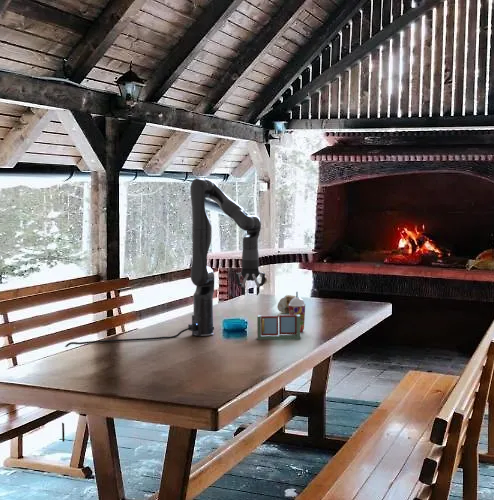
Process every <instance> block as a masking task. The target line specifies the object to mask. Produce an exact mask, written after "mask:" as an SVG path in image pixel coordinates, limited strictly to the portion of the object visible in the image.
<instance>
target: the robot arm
mask: <svg viewBox="0 0 494 500" xmlns="http://www.w3.org/2000/svg"><path fill="white" fill-rule="evenodd" d="M189 190H190V201H191V219H192V220H191V222H192V223H191V224H192V225H191V244H192V245H191V251H192V257H191V267H190V268H191V269H190V280H191V282H192V285H194V286H195V287H196V288H195V291H194V292H193V297H192V299H193V301H192V303H193V314H192V315H191V323H189V324H187V327H186V328H184V329H182V330H181V331H179V332H178V333H177V334H175V335H172V336H171V335H170V336H158V337H157V336H156V337H155V336H154V337H141V338H140V337H139V338H122V339H121V338H120V339H118V338H117V339H103V340H91V341H81V342H77V341H70V342H68V343H67V344H65V346H64V348H67V347H69V346H72V345H87V344H98V343H112V342H113V343H114V342H134V341H135V342H137V341H149V340H150V341H152V340H163V339H164V340H165V339H175V338H177V337H179V336H180V335H181V334H183V333H184V332H186V331H190V332H191V335H192V336H195V337H210V336H213V335H214V330H215V326H214V309H213V308H214V302H213V301H214V299H213V298H214V294H215V272H214V270H213V269H212V268H211V266H208V254H209V250H210V247H211V243H212V236H213V235H212V233H213V231H212V221H211V220H210V217H209V216H208V214H207V211H206V199H210V200H212V201H213V202H215V204H217V205H218V206H219V208H220V210H221V211H222V212H223V213H224V214H225V215H226V216H227V217H229V218H230V219H231V220H233V221H234V223H235V225H236V226H238V227H239V228H240V229H241V230H242V231H245V232H247V233H246V235H245V236H243V238H242V252H241V268H242V269H241V271H240V272H236V273H235V279H236V285H237V286H238V287H240V288H241V295H242V296H246V287H245V285H246V284H247V282H249V281H253V282H254V283H255V285H256V296H259V294H260V293H261V292H260V291H261V287H263V286H264V283H265V278H266V273H265V272H260V270H259V267H260V265H259V262H260V261H259V259H260V257H259V255H260V254H259V238H260V233H261V227H262V223H261V219H260V217H259V216H258V215H253V214H252V215H250V214H249V215H248V214H246V211H245V209H244V208H243V207H242V206H241V205H240V204H238V203H237V202H235V201H234V200H233V199H232V198H231V197H229V196H228V195H227V194H226V193H225V192H224V191H223V190H222V189H221V188H220V187H219V186H218V185H217V184H216V183H215V182H214V181H213V180H211V179H210V178H195V179H193V180H192V181H191V183H190V189H189ZM241 276H242V277H243V278H244V279H243V281H242V282H241V279H240V278H241ZM259 276H260V278H261V280H260V281H261V282H260V283H259V280H258V277H259ZM61 430H62V431H61V435H62V437H61V439H62V440H61V441H62V442H65V423H64V422H61Z"/></svg>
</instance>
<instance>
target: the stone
mask: <svg viewBox="0 0 494 500" xmlns="http://www.w3.org/2000/svg"><path fill="white" fill-rule="evenodd" d="M295 297H296V295H291V294H286V295H285V296H284V297H281V298H280V299H279V301H278V304H277V310H278V311H279V312H281V313H282V314H289V305H288V304H289V303H290V301H291V300H292V299H293V298H295Z"/></svg>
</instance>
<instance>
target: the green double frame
mask: <svg viewBox="0 0 494 500" xmlns="http://www.w3.org/2000/svg"><path fill="white" fill-rule="evenodd" d="M256 316H257V317H256V318H257V319H256V322H257V323H256V325H257V326H256V327H257V330H256V331H257V336H256V337H257V341H258V340H259V341H261V340H263V341H264V340H265V341H266V340H267V341H268V340H270V341H271V340H275V341H276V340H301V333H300V315H289V314H279V315H278V335H275V336H261V316H262V315H261V314H257V315H256Z"/></svg>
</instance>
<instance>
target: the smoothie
mask: <svg viewBox="0 0 494 500" xmlns="http://www.w3.org/2000/svg"><path fill="white" fill-rule="evenodd" d="M295 293H296V295H295V296H296V297H295V298H293V299H292V300H291V301H290V303H289V304H288V305H289V313H288V315H300V334H301V333H303V332H304V330H305V319H306V303H305V301H304V299H302V298H301V297H299V295H298V294H299V292H298V291H296V292H295Z"/></svg>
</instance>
